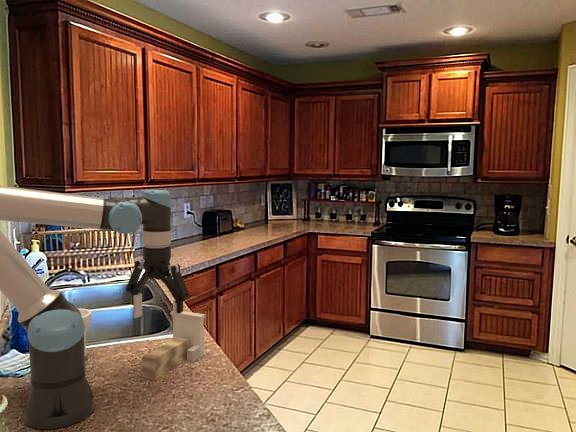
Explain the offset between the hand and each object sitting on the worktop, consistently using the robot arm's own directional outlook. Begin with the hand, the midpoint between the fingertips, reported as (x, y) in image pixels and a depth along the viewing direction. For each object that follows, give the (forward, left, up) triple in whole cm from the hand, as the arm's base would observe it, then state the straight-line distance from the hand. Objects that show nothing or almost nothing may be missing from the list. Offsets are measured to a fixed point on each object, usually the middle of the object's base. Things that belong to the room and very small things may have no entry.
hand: (157, 320), depth 135 cm
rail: (+3, 0, -15) cm, 16 cm away
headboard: (+13, 0, -15) cm, 20 cm away
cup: (-4, +29, -15) cm, 33 cm away
